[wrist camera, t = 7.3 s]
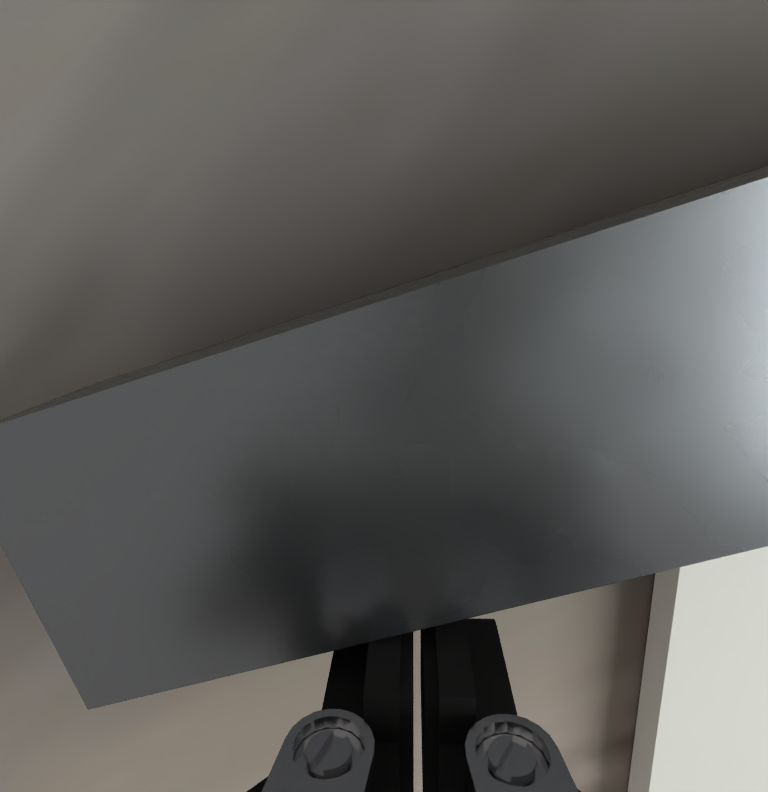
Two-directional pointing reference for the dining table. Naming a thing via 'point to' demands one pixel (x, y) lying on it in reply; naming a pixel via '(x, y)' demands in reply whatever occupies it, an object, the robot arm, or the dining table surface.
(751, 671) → the label board
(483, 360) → the swing bar
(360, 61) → the dining table surface
